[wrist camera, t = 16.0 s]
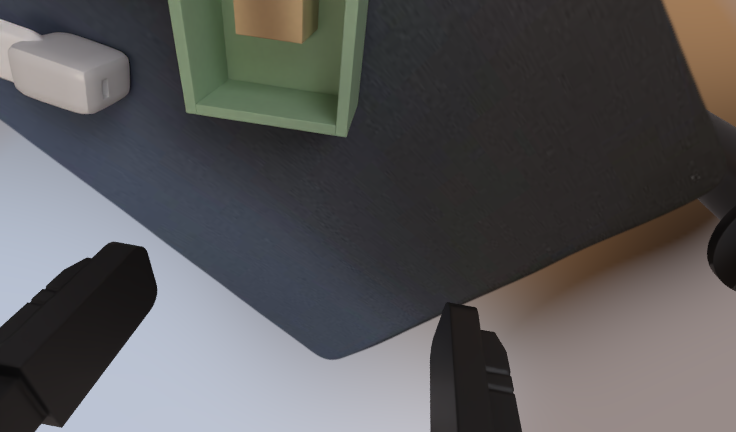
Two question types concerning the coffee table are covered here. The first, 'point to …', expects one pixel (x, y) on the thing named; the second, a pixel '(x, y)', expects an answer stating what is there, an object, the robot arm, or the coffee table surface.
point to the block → (277, 19)
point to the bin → (271, 67)
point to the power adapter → (63, 68)
